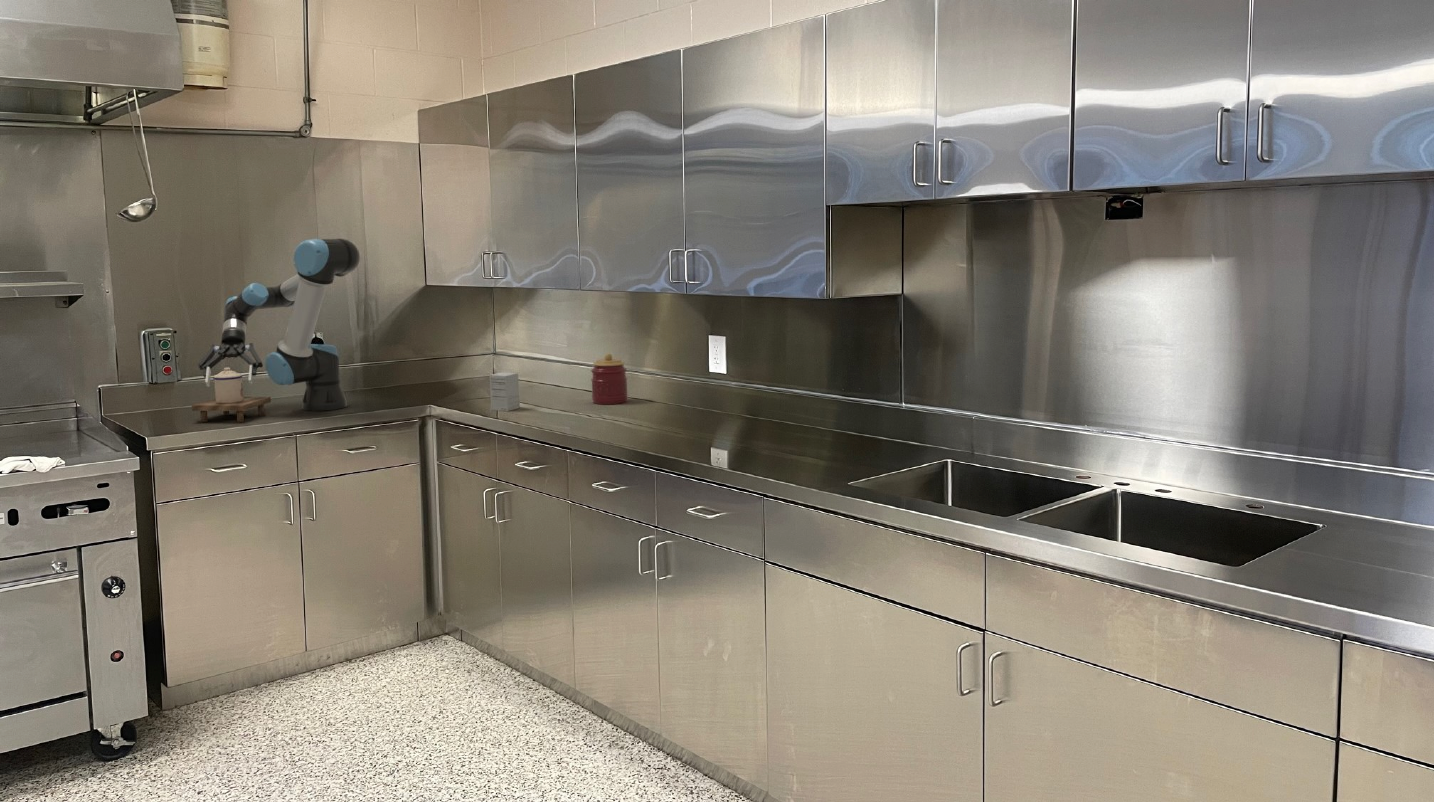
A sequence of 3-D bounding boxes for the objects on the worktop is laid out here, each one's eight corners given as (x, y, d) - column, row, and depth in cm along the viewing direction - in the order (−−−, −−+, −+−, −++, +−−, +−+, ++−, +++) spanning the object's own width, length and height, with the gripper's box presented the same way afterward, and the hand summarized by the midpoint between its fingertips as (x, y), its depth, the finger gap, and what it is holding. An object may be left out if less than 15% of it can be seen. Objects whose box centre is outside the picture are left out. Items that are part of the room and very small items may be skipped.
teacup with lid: (248, 401, 363) (245, 367, 361) (220, 404, 357) (217, 370, 355) (236, 397, 372) (233, 364, 370) (209, 400, 365) (205, 367, 364)
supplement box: (503, 407, 379) (501, 371, 377) (520, 408, 376) (518, 372, 374) (490, 410, 373) (488, 374, 371) (507, 411, 369) (505, 375, 367)
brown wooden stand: (272, 413, 373) (270, 396, 372) (243, 423, 355) (242, 405, 354) (223, 413, 375) (222, 396, 374) (193, 422, 358) (191, 405, 357)
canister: (630, 399, 392) (629, 351, 389) (624, 404, 379) (622, 355, 376) (596, 399, 393) (594, 351, 390) (588, 405, 380) (586, 355, 377)
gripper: (273, 340, 379) (270, 388, 367) (197, 343, 373) (191, 391, 361) (269, 326, 373) (266, 374, 361) (192, 329, 367) (186, 378, 356)
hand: (228, 383), depth 361 cm, fingers open, 13 cm apart
